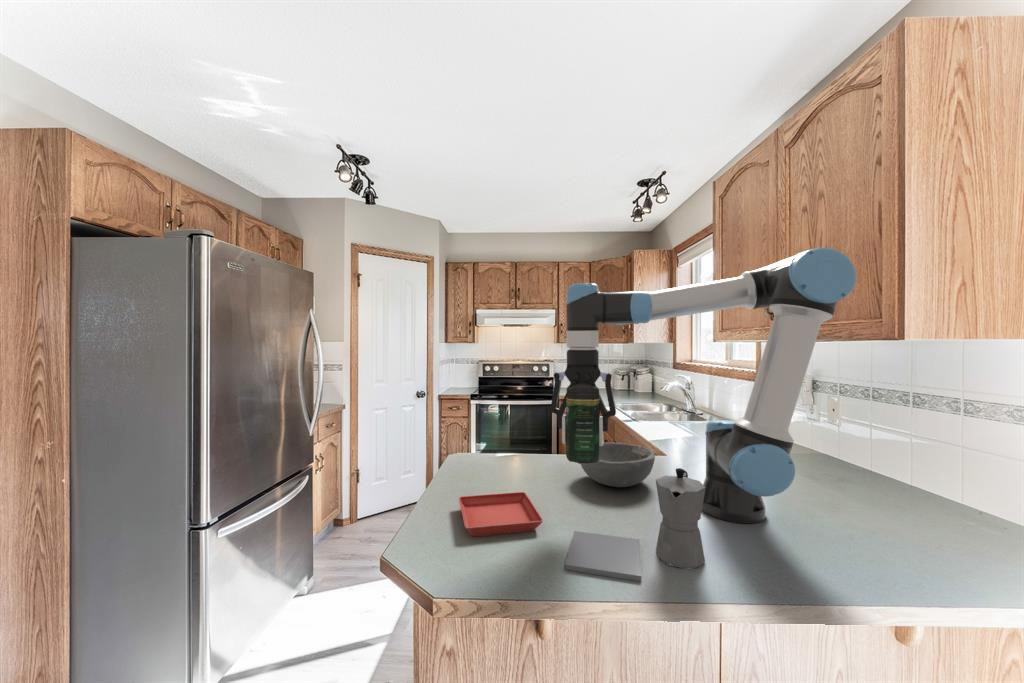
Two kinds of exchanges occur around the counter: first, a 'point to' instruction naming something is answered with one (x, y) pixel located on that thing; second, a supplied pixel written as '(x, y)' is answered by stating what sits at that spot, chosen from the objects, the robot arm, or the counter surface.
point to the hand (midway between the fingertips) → (582, 443)
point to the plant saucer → (499, 513)
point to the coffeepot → (680, 520)
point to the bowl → (621, 465)
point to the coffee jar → (582, 423)
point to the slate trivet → (605, 555)
